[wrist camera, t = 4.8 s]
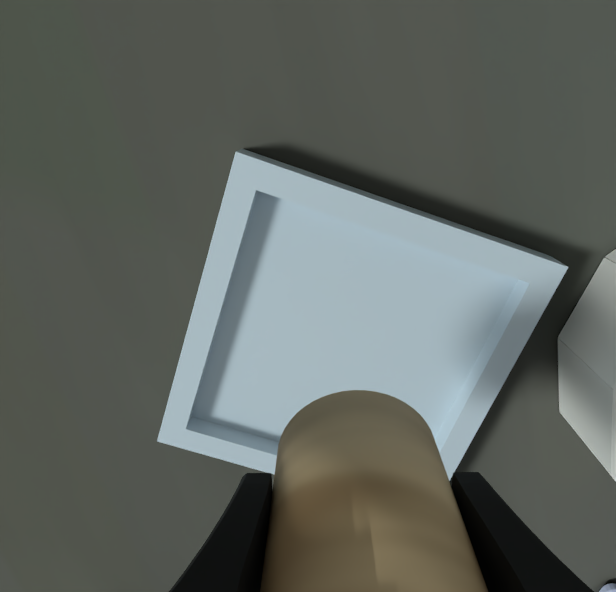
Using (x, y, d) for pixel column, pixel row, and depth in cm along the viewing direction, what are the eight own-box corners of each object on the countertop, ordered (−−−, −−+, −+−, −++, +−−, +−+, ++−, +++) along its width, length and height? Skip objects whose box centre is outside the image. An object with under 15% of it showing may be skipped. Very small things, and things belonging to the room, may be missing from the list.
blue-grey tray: (421, 493, 23) (428, 518, 22) (167, 420, 22) (157, 441, 20) (549, 255, 19) (568, 266, 17) (242, 148, 18) (235, 151, 16)
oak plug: (399, 535, 14) (458, 846, 8) (258, 496, 14) (210, 792, 8) (463, 417, 13) (592, 691, 7) (306, 369, 12) (293, 614, 6)
